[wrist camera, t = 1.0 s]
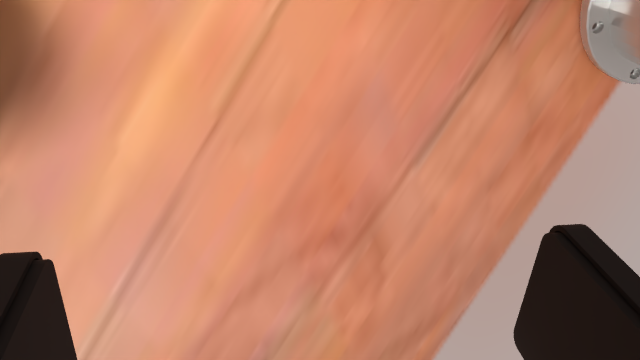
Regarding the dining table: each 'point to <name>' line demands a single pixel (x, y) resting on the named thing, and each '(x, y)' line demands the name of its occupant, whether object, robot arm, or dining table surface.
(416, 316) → the dining table surface
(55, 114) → the dining table surface
